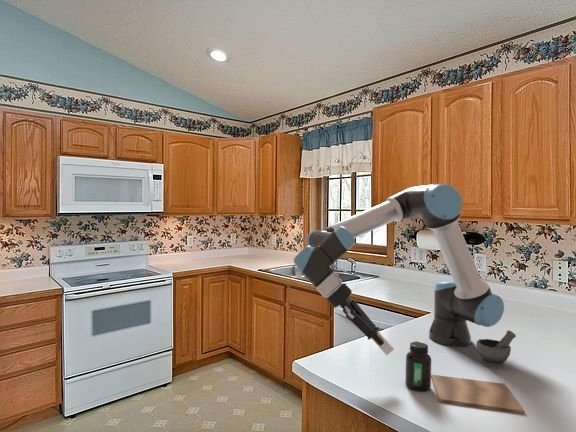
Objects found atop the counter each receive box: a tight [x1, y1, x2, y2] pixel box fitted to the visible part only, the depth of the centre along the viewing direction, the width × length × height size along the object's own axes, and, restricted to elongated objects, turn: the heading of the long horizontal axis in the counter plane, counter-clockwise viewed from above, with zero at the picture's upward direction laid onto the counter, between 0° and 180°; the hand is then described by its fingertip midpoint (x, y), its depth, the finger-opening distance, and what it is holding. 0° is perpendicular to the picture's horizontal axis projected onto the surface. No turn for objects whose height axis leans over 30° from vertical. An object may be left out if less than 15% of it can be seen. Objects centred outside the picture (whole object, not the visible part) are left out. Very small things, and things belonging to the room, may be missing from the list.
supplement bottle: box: [404, 341, 432, 392], centre depth 104 cm, size 7×7×12 cm
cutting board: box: [431, 374, 526, 415], centre depth 100 cm, size 20×15×1 cm
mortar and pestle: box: [476, 330, 517, 370], centre depth 120 cm, size 11×9×12 cm
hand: (390, 351), depth 106 cm, fingers closed
